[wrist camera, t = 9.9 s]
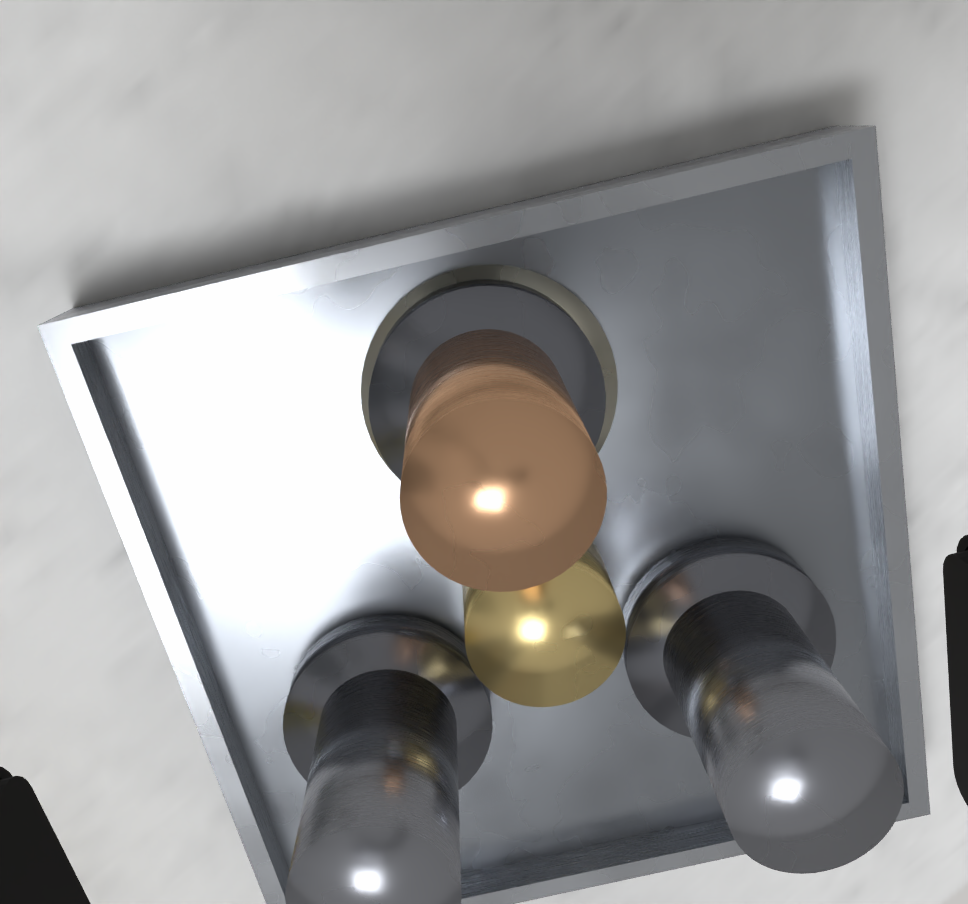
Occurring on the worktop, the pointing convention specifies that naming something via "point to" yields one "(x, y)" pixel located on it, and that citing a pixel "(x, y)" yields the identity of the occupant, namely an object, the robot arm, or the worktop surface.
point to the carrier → (568, 597)
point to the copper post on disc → (492, 433)
